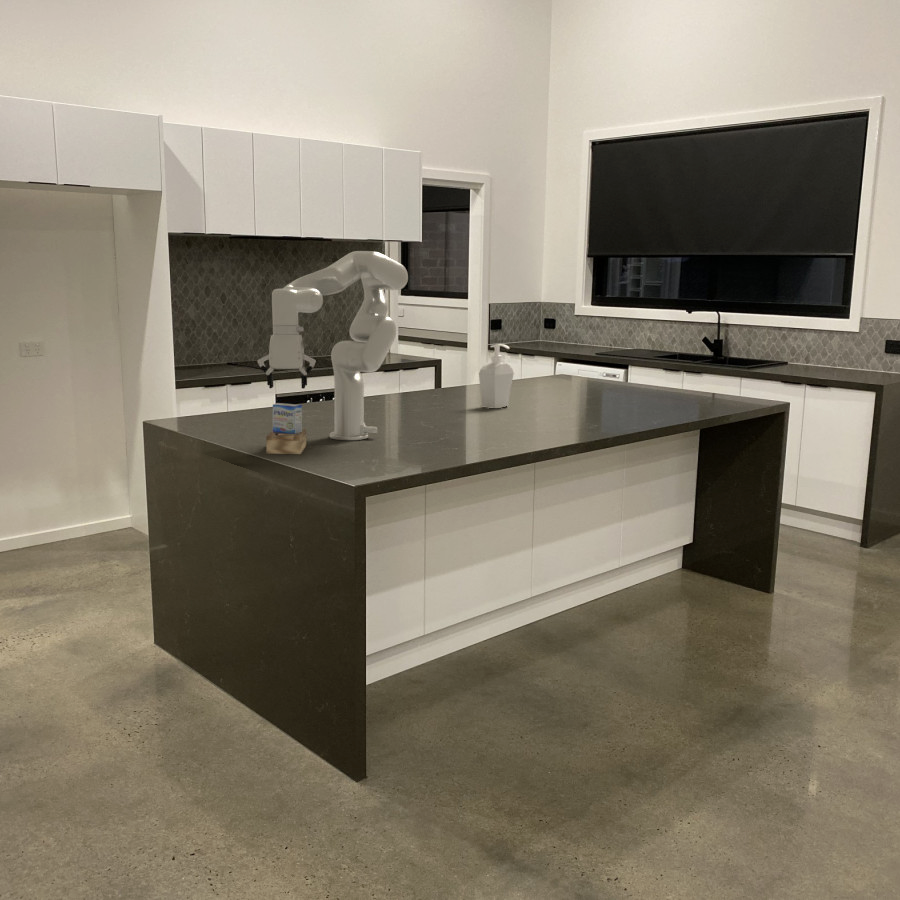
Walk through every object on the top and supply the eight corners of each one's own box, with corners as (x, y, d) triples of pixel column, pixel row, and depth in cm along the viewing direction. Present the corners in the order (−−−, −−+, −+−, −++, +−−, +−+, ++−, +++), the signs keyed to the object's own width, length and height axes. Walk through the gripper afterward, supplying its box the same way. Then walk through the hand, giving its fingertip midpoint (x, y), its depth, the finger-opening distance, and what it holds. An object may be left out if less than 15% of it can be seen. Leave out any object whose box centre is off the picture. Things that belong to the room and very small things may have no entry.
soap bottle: (497, 410, 363) (499, 345, 357) (477, 407, 369) (479, 344, 364) (515, 407, 372) (518, 344, 367) (496, 404, 378) (498, 342, 373)
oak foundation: (306, 445, 283) (306, 429, 282) (300, 454, 270) (300, 437, 269) (273, 445, 283) (273, 428, 282) (266, 453, 270) (266, 436, 269)
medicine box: (272, 432, 275) (271, 404, 273) (279, 430, 279) (279, 402, 277) (295, 434, 272) (294, 406, 271) (302, 432, 276) (302, 404, 275)
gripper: (316, 329, 273) (317, 386, 277) (258, 329, 273) (260, 385, 277) (313, 332, 266) (314, 389, 270) (254, 331, 265) (256, 389, 269)
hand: (287, 387), depth 273 cm, fingers open, 9 cm apart
